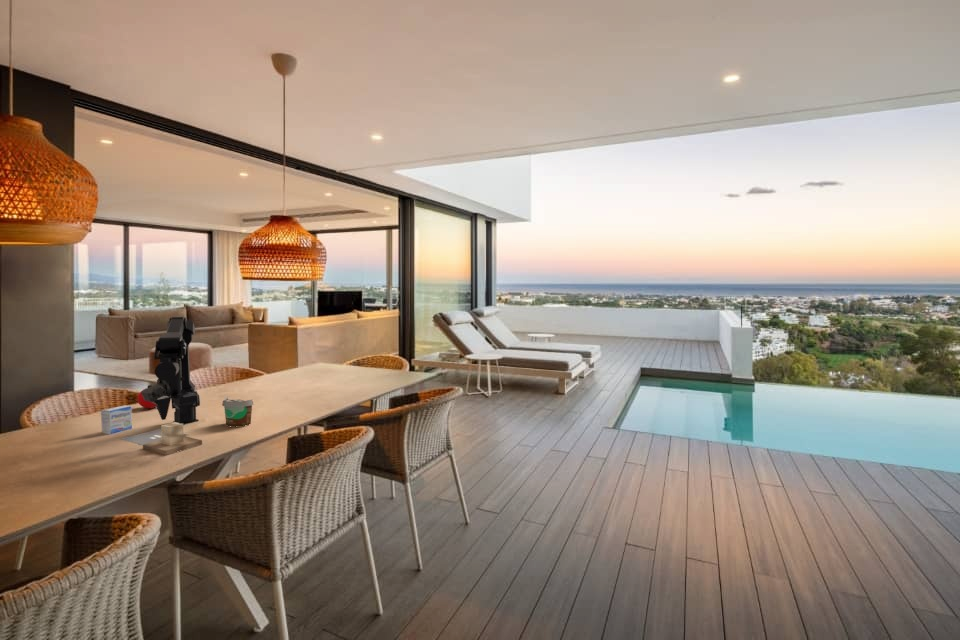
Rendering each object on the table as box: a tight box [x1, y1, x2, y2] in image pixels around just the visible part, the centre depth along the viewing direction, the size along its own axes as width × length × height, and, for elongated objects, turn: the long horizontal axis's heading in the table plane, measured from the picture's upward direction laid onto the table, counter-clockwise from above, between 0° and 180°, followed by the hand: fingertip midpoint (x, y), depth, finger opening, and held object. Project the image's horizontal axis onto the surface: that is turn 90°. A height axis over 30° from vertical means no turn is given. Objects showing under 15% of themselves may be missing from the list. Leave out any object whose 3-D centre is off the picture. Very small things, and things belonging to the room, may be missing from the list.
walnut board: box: [142, 436, 203, 456], centre depth 160 cm, size 12×12×2 cm
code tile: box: [120, 428, 189, 446], centre depth 169 cm, size 14×16×1 cm
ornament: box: [137, 384, 157, 409], centre depth 207 cm, size 9×9×10 cm
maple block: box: [160, 421, 185, 445], centre depth 160 cm, size 4×4×6 cm
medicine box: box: [100, 404, 133, 435], centre depth 175 cm, size 8×4×9 cm, turn 161°
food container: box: [221, 396, 255, 428], centre depth 185 cm, size 12×6×10 cm, turn 76°
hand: (172, 421), depth 159 cm, fingers open, 9 cm apart
